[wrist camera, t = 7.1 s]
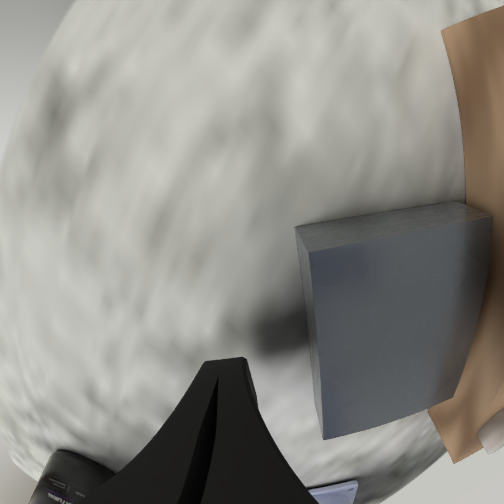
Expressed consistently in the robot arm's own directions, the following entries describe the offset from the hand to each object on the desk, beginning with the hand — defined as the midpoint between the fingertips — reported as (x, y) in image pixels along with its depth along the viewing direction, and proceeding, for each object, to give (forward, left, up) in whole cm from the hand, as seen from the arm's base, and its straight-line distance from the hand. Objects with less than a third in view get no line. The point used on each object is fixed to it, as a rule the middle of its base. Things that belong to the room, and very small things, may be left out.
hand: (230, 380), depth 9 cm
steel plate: (0, -6, -2) cm, 6 cm away
